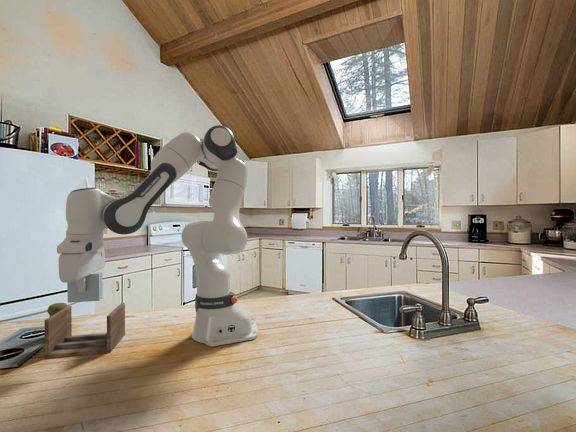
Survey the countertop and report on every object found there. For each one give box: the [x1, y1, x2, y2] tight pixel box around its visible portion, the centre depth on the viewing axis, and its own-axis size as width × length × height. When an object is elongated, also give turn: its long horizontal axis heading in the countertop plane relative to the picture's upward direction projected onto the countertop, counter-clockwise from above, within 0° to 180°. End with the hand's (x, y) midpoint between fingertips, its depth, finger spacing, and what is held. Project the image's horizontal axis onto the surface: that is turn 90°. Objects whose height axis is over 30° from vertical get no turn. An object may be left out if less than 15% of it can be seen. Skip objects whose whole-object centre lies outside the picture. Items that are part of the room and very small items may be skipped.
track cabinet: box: [44, 302, 126, 359], centre depth 88 cm, size 17×12×11 cm
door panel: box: [66, 271, 104, 304], centre depth 83 cm, size 8×2×8 cm, turn 104°
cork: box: [47, 302, 68, 317], centre depth 94 cm, size 6×6×11 cm
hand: (85, 289), depth 83 cm, fingers closed on door panel, 2 cm apart
